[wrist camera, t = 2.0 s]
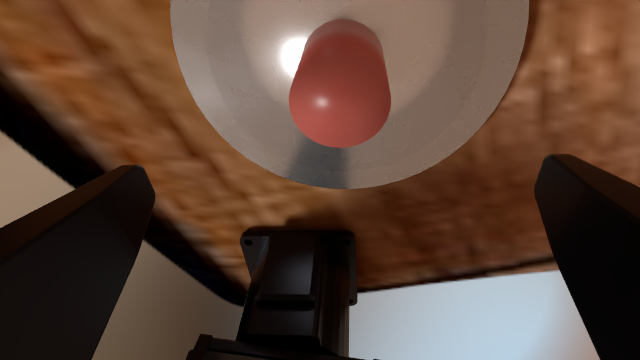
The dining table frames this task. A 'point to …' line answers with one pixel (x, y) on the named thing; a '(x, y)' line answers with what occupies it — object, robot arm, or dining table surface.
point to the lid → (348, 80)
